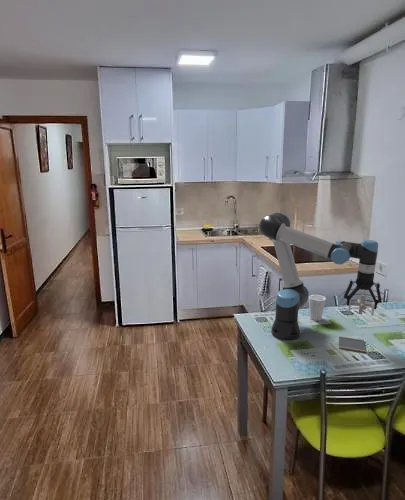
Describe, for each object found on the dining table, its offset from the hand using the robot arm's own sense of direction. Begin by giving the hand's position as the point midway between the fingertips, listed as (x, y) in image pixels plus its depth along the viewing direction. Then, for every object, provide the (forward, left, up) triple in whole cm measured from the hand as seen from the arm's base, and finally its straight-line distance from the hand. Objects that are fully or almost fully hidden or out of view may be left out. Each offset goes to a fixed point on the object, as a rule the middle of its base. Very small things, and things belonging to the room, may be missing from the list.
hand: (360, 312), depth 180 cm
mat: (-3, -7, -15) cm, 17 cm away
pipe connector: (0, 0, 0) cm, 0 cm away
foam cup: (-22, +20, -15) cm, 34 cm away
